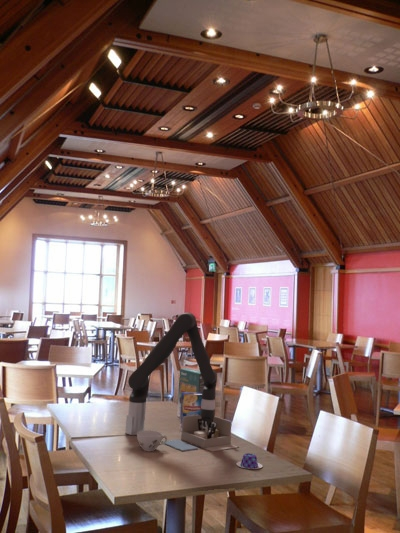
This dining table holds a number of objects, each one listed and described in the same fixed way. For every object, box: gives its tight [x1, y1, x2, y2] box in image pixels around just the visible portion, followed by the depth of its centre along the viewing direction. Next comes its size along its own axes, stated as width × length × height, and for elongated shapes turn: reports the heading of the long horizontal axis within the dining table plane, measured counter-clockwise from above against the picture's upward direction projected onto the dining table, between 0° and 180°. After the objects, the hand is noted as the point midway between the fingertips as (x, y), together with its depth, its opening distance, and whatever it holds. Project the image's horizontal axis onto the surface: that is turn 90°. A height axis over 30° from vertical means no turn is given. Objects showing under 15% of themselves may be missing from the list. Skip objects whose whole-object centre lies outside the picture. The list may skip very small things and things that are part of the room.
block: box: [194, 429, 219, 439], centre depth 294 cm, size 13×5×6 cm, turn 128°
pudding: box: [236, 452, 263, 470], centre depth 256 cm, size 12×12×5 cm
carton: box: [180, 415, 239, 452], centre depth 291 cm, size 18×26×12 cm
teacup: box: [136, 429, 168, 452], centre depth 273 cm, size 15×12×8 cm
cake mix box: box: [176, 368, 204, 418], centre depth 349 cm, size 22×6×30 cm, turn 34°
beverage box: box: [179, 392, 202, 435], centre depth 312 cm, size 7×11×22 cm, turn 104°
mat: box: [160, 439, 199, 452], centre depth 283 cm, size 10×18×1 cm, turn 38°
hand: (206, 440), depth 294 cm, fingers closed on block, 4 cm apart
